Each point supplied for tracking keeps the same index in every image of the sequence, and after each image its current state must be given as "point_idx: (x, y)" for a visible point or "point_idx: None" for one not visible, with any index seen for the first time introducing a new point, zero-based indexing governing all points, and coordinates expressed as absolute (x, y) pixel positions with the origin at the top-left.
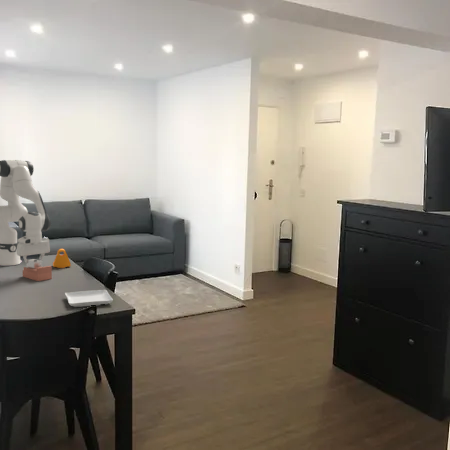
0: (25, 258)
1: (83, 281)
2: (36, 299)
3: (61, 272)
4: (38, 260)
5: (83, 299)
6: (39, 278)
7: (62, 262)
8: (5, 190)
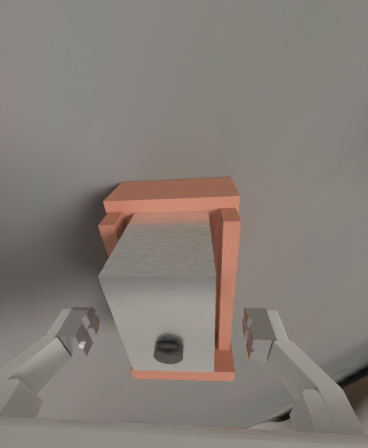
0: (35, 381)
1: (276, 379)
2: (71, 406)
3: None
4: (201, 352)
5: None
6: None
7: None
8: None
